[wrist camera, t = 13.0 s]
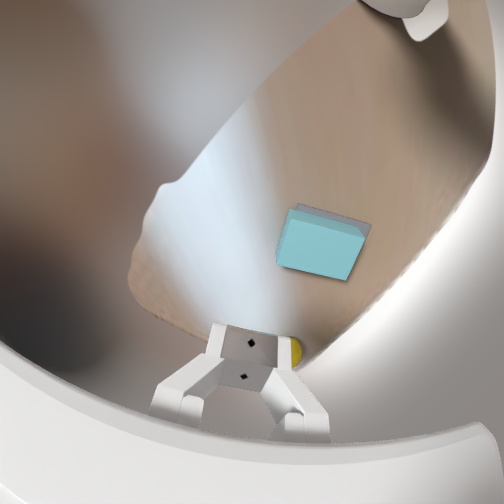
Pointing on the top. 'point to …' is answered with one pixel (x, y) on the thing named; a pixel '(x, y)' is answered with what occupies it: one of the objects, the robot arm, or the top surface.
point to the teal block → (318, 245)
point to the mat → (336, 219)
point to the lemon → (295, 352)
